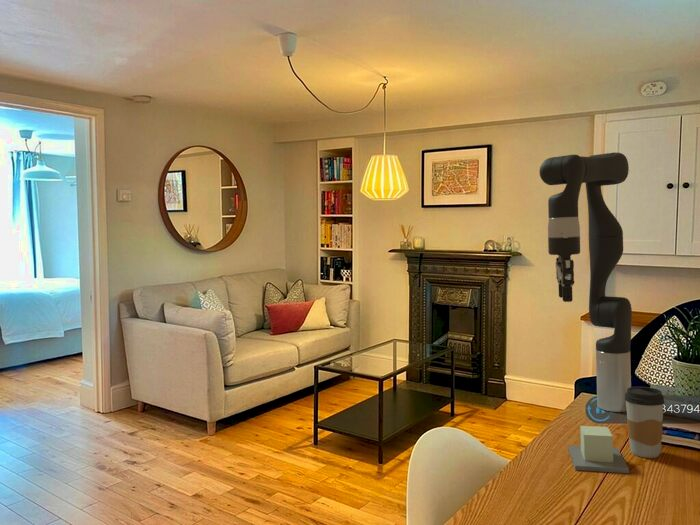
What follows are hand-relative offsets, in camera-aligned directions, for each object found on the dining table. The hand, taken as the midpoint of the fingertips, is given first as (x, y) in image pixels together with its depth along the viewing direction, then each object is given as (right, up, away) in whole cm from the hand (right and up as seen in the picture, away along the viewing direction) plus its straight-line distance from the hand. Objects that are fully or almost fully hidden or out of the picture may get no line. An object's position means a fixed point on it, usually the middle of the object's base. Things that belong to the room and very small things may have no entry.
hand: (565, 299), depth 140 cm
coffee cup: (+16, -36, -9) cm, 40 cm away
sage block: (+3, -36, -12) cm, 38 cm away
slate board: (+3, -37, -12) cm, 39 cm away
